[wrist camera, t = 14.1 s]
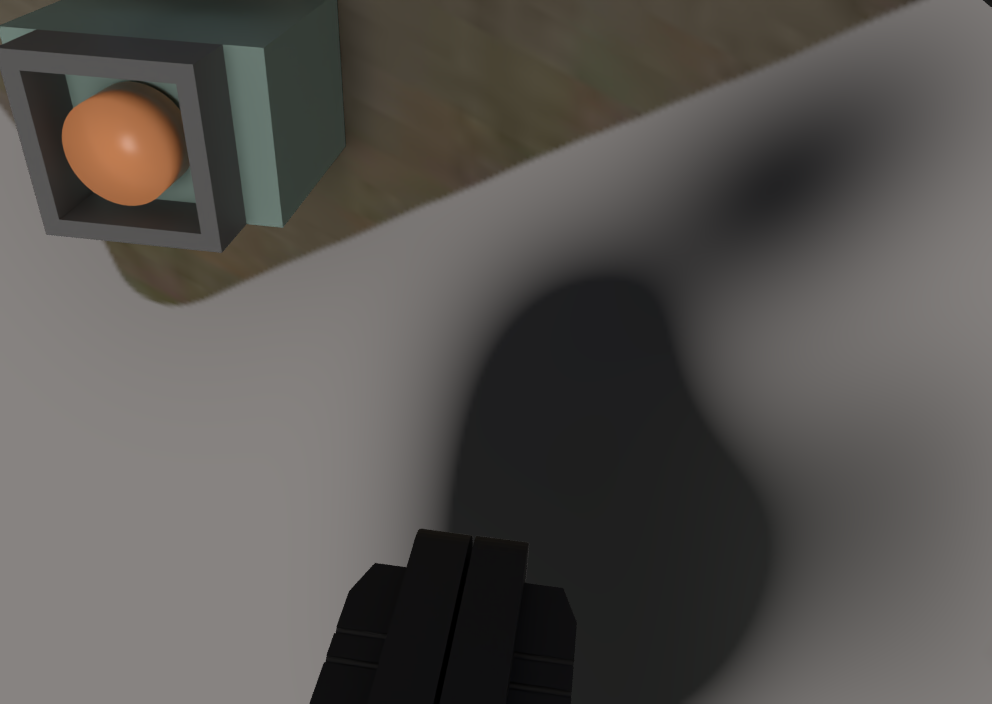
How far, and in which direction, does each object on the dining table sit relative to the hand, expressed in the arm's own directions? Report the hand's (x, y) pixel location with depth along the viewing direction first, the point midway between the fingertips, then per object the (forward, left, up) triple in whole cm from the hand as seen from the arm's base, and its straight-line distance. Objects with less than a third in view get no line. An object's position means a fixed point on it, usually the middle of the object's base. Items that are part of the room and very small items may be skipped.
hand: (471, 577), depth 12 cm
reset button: (+3, -16, -22) cm, 27 cm away
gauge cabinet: (+3, -16, -31) cm, 35 cm away
